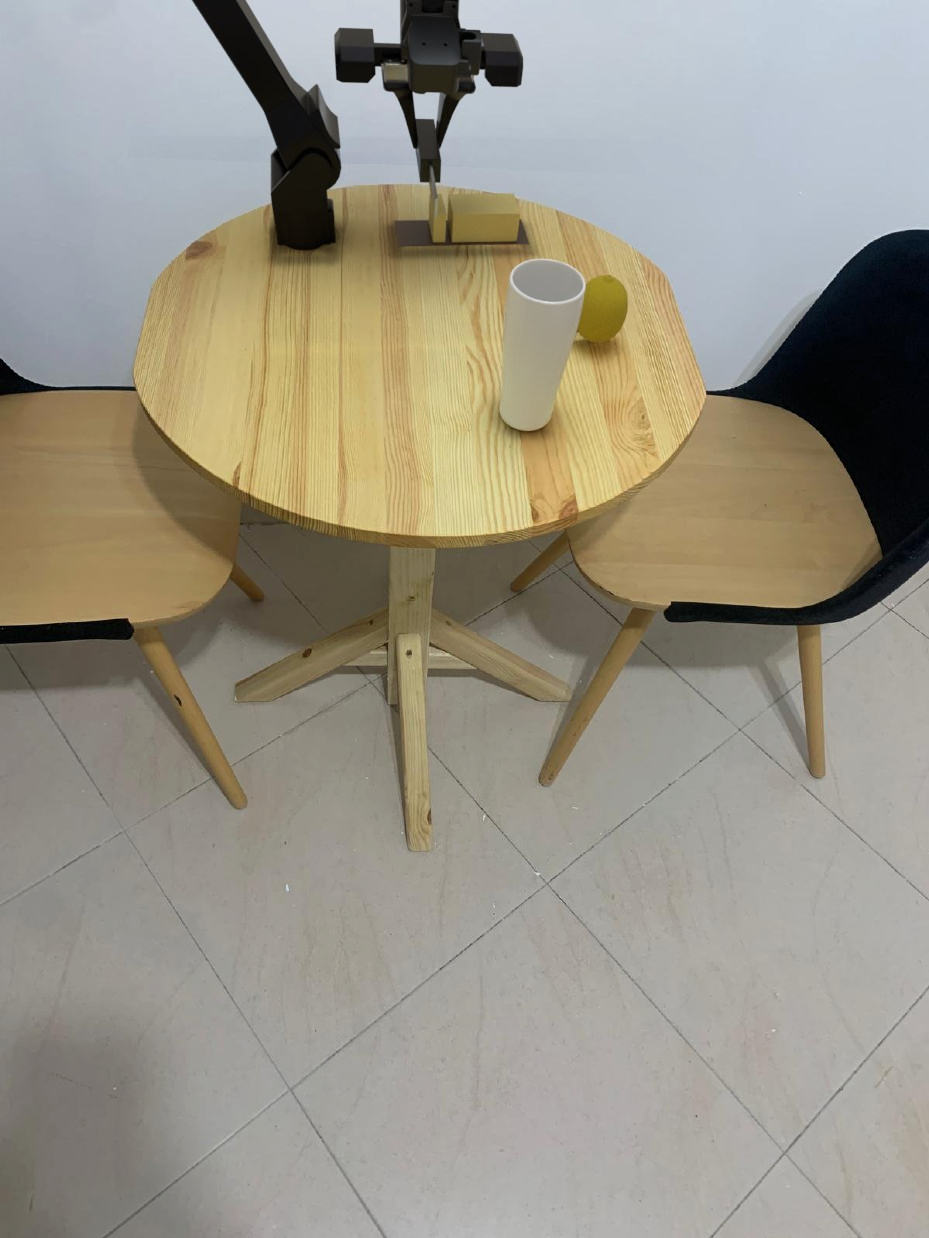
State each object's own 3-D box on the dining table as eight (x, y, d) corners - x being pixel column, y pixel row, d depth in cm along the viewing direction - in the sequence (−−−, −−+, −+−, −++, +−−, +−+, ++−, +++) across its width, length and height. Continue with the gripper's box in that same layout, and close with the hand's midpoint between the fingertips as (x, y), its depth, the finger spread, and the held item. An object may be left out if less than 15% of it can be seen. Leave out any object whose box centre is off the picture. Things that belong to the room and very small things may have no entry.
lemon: (620, 360, 84) (638, 294, 78) (569, 356, 84) (584, 290, 77) (615, 328, 87) (633, 262, 81) (567, 325, 87) (580, 258, 80)
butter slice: (432, 243, 93) (433, 214, 90) (428, 222, 95) (429, 193, 92) (445, 242, 93) (446, 214, 90) (440, 222, 95) (441, 193, 92)
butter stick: (451, 242, 93) (453, 214, 90) (447, 222, 95) (448, 193, 92) (516, 241, 94) (520, 213, 91) (510, 221, 96) (513, 193, 94)
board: (398, 254, 93) (398, 246, 92) (394, 228, 96) (394, 220, 95) (528, 252, 95) (529, 244, 94) (520, 226, 98) (521, 219, 97)
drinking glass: (499, 442, 76) (518, 306, 64) (485, 396, 80) (500, 259, 67) (565, 436, 77) (597, 301, 65) (548, 390, 81) (575, 255, 68)
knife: (425, 218, 79) (425, 195, 77) (414, 141, 88) (414, 118, 86) (446, 218, 79) (447, 195, 77) (433, 141, 88) (434, 119, 86)
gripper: (330, 0, 67) (342, 184, 80) (542, 8, 69) (520, 187, 82) (329, -46, 73) (340, 132, 86) (523, -37, 75) (505, 135, 88)
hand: (426, 147), depth 85 cm, fingers closed on knife, 2 cm apart
